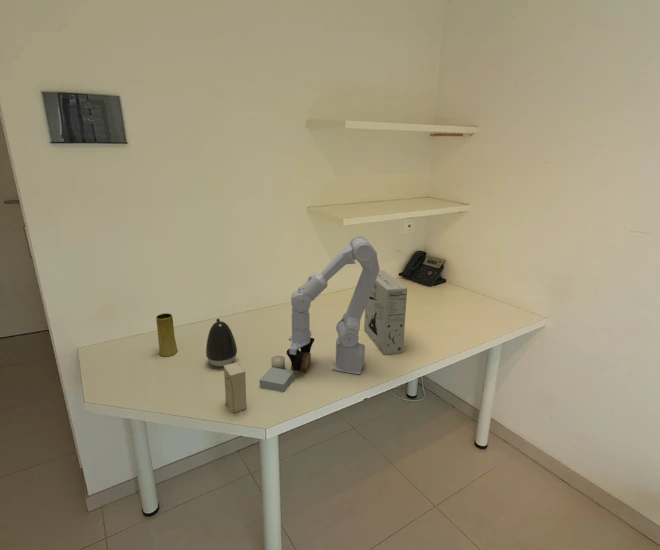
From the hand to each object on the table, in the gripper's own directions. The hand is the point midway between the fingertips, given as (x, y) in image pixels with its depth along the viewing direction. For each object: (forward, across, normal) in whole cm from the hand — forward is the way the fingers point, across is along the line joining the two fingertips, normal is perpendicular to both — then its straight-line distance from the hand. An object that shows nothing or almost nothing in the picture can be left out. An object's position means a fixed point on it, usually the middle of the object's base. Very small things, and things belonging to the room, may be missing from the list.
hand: (301, 364), depth 136 cm
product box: (+2, -29, +22) cm, 36 cm away
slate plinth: (+2, +10, -4) cm, 11 cm away
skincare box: (+2, +25, -10) cm, 27 cm away
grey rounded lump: (+2, +3, -7) cm, 8 cm away
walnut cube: (+2, 0, 0) cm, 2 cm away
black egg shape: (+2, +5, -27) cm, 28 cm away
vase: (+2, +5, -49) cm, 49 cm away
